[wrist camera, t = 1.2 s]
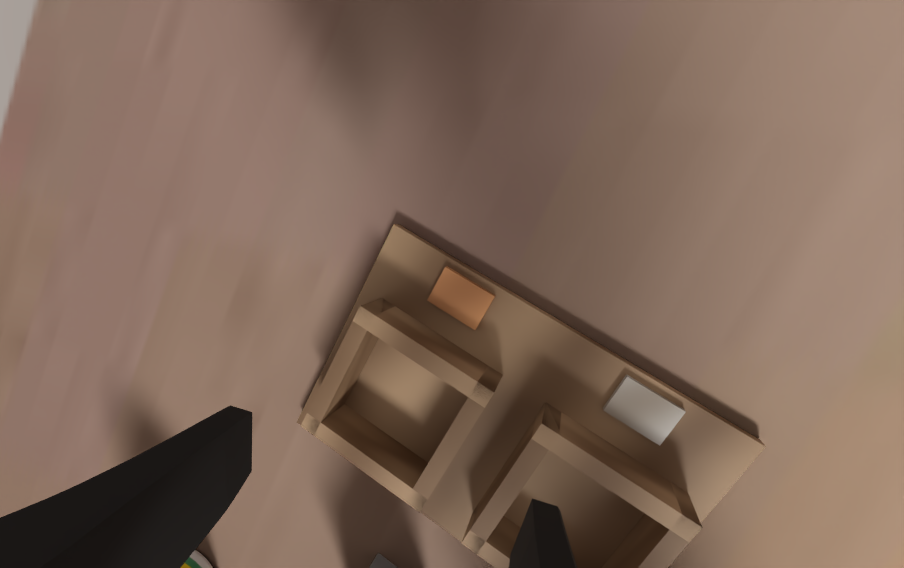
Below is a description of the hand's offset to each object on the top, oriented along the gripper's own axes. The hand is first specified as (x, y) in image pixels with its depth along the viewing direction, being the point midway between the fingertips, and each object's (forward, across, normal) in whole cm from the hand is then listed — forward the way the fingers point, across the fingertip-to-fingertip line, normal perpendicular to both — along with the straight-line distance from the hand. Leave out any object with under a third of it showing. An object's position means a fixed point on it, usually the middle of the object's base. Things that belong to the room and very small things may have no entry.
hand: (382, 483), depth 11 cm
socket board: (+9, -3, +5) cm, 11 cm away
